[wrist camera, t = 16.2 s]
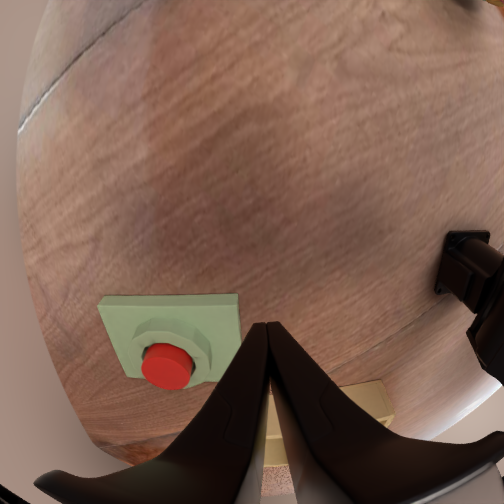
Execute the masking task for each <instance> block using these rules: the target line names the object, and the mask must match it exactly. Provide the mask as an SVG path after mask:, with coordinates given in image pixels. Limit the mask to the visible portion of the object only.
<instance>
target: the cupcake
mask: <svg viewBox="0 0 504 504" xmlns="http://www.w3.org/2000/svg"><path fill="white" fill-rule="evenodd" d="M484 1H487V2H488V3H490V4H493V5H495V6H498V7H503V6H504V0H484Z"/></svg>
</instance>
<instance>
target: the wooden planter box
mask: <svg viewBox="0 0 504 504" xmlns="http://www.w3.org/2000/svg"><path fill="white" fill-rule="evenodd" d="M339 388H340V389H341V390H342V391H343V392H344V393H345V394H346V395H347V396H348V397H349V398H350V399H351V400H353V401H354V402H355V403H356V404H357V405H358V406H360V407H361V408H362V409H363V410H365V411H366V412H367V413H368V414H370V415H371V416H372V417H373V418H375V419H376V420H377V421H379V422H380V423H381V424H382V425H384V426H385V427H386V428H388V426H389V425H390V423H391V421H392V420H393V418H394V417H395V415H396V413H395V411H394V408H393V406H392V404H391V401H390V399H389V397H388V394H387V392H386V390H385V388H384V386H383V383H382V381H381V379H380V380H375V381H370V382H365V383H360V384H355V385H349V386H343V387H339ZM279 466H289V464H288V460H287V456H286V451H285V447H284V443H283V438H282V434H281V429H280V425H279V421H278V416H277V412H276V407H275V403H274V398H273V395H269V407H268V420H267V432H266V444H265V456H264V466H263V468H264V467H279Z"/></svg>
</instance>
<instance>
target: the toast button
mask: <svg viewBox="0 0 504 504" xmlns="http://www.w3.org/2000/svg"><path fill="white" fill-rule="evenodd" d="M192 365H193V363H192V359H191V357H190V355H189V354H188V353H187V352H186V351H185V350H184V349H182V348H179V347H177V346H174V345H172V344H170V343H156V344H153V345H151V346H150V347H149V348H148V349H147V351H146V354H145V357H144V360H143V362H142V365H141V371H142V374H143V375H144V377H145V378H146V379H147V380H148V381H149V382H150V383H152V384H153V385H155V386H157V387H160V388H163V389H168V390H177V389H181V388H184V387H185V386H187V385H188V383H189V381H190V376H191V371H192Z"/></svg>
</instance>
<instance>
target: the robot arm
mask: <svg viewBox="0 0 504 504" xmlns="http://www.w3.org/2000/svg"><path fill="white" fill-rule="evenodd" d="M451 236H452V238H451ZM489 239H490V232H488V231H486V230H471V231H450V232H449V233H448V234H447V238H446V243H445V247H444V252H443V256H442V261H441V265H440V269H439V273H438V277H437V280H436V284H435V287H434V292H435V293H436V294H437V295H441V294H446V293H452V294H453V295H454V296H455V297H456V298H457V299H458V300H459V301H461V302H463V303H464V304H465V305H466V306H467V307H468V308H469V309H470V310H471V311H472V312H473V313H474V314H477V316H476V317H475V319H474V321H473V323H472V325H471V326H470V328H468V330H467V332H466V335H467V337H468V339H469V341H470V343H471V345H472V347H473V350H474V352H475V354H476V356H477V359H478V361H479V363H480V365H481V367H482V369H483V370H485V371H486V372H487V373H488V374H490V375H491V376H493V377H495V378H496V379H497V380H498V381H499V382H500V383H501V384H502V385H503V386H504V255H503V254H501V253H500V252H499V251H497V250H496V249H494V248H493V247H491V246H490V245H488V243H489ZM270 384H271V389H272V394H273V398H274V403H275V407H276V412H277V416H278V421H279V425H280V429H281V434H282V438H283V443H284V447H285V451H286V456H287V460H288V464H289V469H290V473H291V477H292V481H293V486H294V490H295V493H296V499H297V503H298V504H504V476H503V477H501V475H500V472H499V470H498V468H497V466H496V463H497V462H498V461H499V460H501V459H502V458H503V457H504V432H502V431H495V432H493V433H491V434H489V435H487V436H486V437H484V438H482V439H481V440H478V441H476V442H473V443H467V444H452V443H442V442H433V441H425V440H418V439H412V438H406V437H403V436H400V435H398V434H396V433H394V432H392V431H391V430H389V429H388V428H386V427H385V426H384V425H382V424H381V423H380V422H379V421H377V420H376V419H375V418H373V417H372V416H371V415H370V414H368V413H367V412H366V411H365V410H363V409H362V408H361V407H360V406H358V405H357V404H356V403H355V402H354V401H353V400H351V399H350V398H349V397H348V396H347V395H346V394H345V393H344V392H343V391H342V390H341V389H340V388H339V387H338V386H337V385H336V384H335V383H334V382H333V381H332V380H331V378H330V377H329V376H328V375H327V374H326V373H325V372H324V371H323V370H322V369H321V368H320V366H319V365H318V364H317V363H316V362H315V361H314V360H313V359H312V358H311V357H310V356H309V354H308V353H307V352H306V351H305V350H304V349H303V348H302V347H301V346H300V344H299V343H298V342H297V341H296V340H295V339H294V338H293V337H292V336H291V334H290V333H289V332H288V331H287V330H286V329H285V328H284V327H283V325H282V324H281V323H280V322H278V321H275V322H267V325H266V323H265V322H261V323H254V324H253V325H252V327H251V329H250V330H249V332H248V334H247V335H246V337H245V339H244V341H243V342H242V344H241V346H240V347H239V349H238V351H237V352H236V354H235V356H234V357H233V359H232V361H231V362H230V364H229V366H228V367H227V369H226V371H225V372H224V374H223V376H222V377H221V379H220V380H219V382H218V384H217V385H216V387H215V389H214V390H213V392H212V393H211V395H210V396H209V398H208V400H207V401H206V402H205V404H204V405H203V407H202V408H201V410H200V411H199V412H198V413H197V415H196V416H195V417H194V418H193V419H192V421H191V422H190V423H189V424H188V425H187V426H186V428H185V429H184V430H183V431H182V432H181V433H180V434H179V435H178V437H177V438H176V439H175V440H174V441H173V442H172V443H171V444H170V445H169V446H168V447H167V448H166V449H165V450H164V451H163V452H162V453H161V454H160V455H158V456H157V457H155V458H153V459H152V460H149V461H147V462H144V463H141V464H139V465H136V466H133V467H130V468H128V469H124V470H121V471H119V472H115V473H112V474H109V475H106V476H102V477H97V478H82V477H78V476H74V475H72V474H69V473H67V472H64V471H61V470H53V471H51V472H48V473H45V474H43V475H42V476H40V477H39V478H37V479H36V481H35V482H34V485H35V486H36V487H37V488H38V489H40V490H41V491H43V492H44V493H46V494H47V495H49V496H51V497H52V498H54V499H56V500H57V501H59V502H61V503H62V504H260V496H261V487H262V477H263V466H264V456H265V444H266V432H267V420H268V407H269V393H270ZM0 504H30V503H28V502H27V501H25V500H23V499H22V498H20V497H19V496H17V495H16V494H14V493H12V492H11V491H9V490H8V489H7V488H5V487H4V486H2V485H1V484H0Z"/></svg>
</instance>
